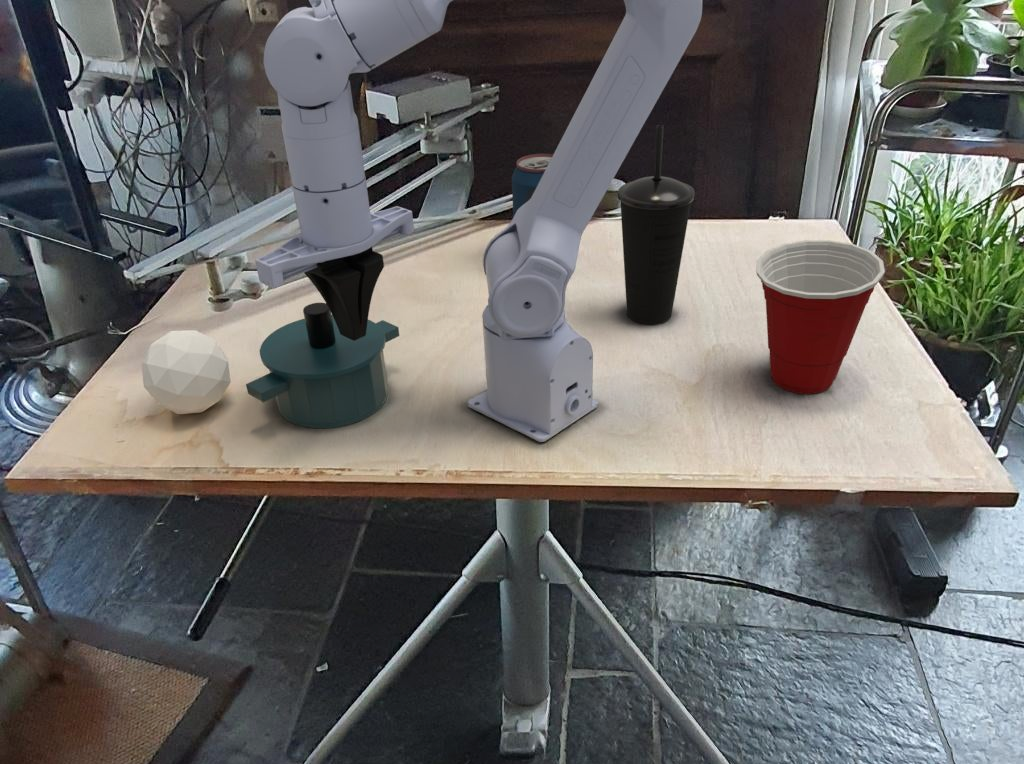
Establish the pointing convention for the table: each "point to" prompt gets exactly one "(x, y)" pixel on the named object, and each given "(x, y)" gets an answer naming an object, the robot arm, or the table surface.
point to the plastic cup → (814, 308)
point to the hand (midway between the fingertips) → (353, 334)
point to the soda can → (527, 177)
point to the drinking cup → (653, 240)
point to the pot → (329, 393)
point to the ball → (185, 371)
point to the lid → (319, 347)
